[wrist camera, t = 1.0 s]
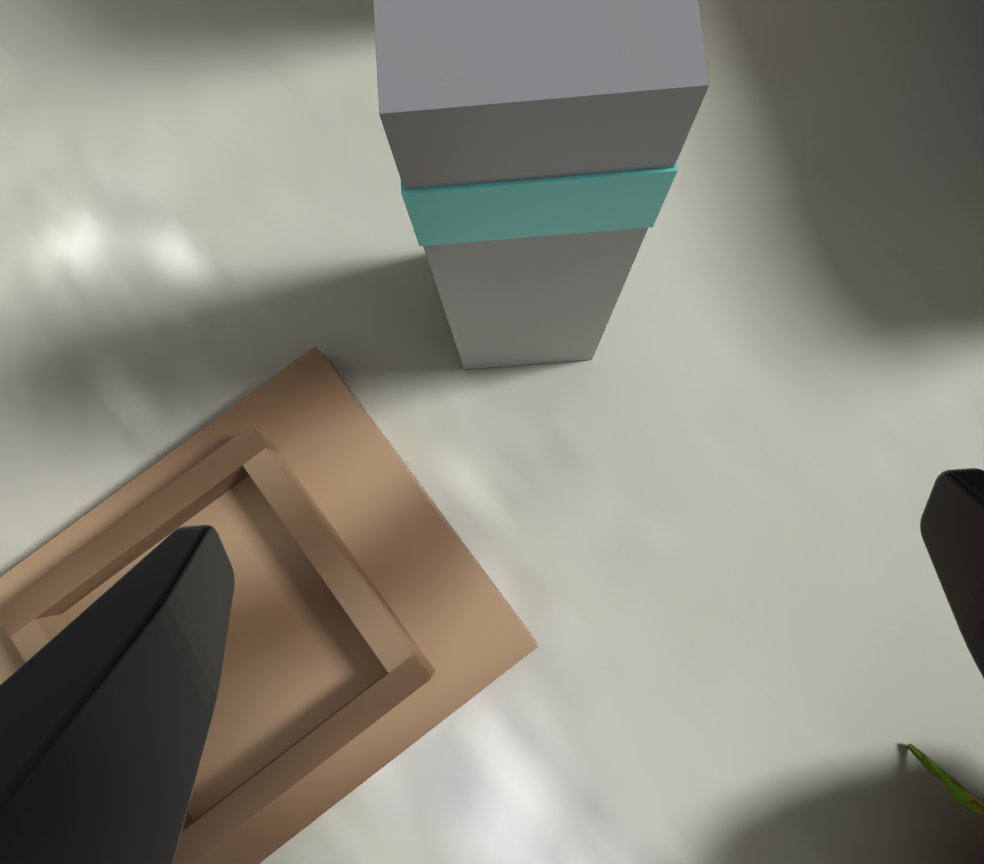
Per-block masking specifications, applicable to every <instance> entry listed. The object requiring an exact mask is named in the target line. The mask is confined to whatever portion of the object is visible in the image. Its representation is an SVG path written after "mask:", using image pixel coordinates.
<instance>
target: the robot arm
mask: <svg viewBox="0 0 984 864" xmlns="http://www.w3.org/2000/svg"><path fill="white" fill-rule="evenodd" d="M920 529H921V535H922V538H923V541H924V544H925V546H926V548H927V551H928V553H929V556H930V558H931V561H932V563H933V566H934V568H935V571H936V573H937V575H938V578H939V580H940V583H941V585H942V588H943V590H944V593H945V595H946V598H947V600H948V603H949V605H950V607H951V610H952V612H953V615H954V617H955V620H956V622H957V625H958V627H959V630H960V632H961V634H962V636H963V638H964V641H965V643H966V645H967V647H968V649H969V651H970V653H971V655H972V657H973V659H974V661H975V663H976V665H977V667H978V669H979V671H980V672H981V674H982V676H983V678H984V471H983V470H981V469H975V468H970V469H956V470H947V471H944V472H942V473H941V474H940V475H939V476H938V477H937V479H936V481H935V483H934V486H933V489H932V491H931V494H930V496H929V499H928V501H927V504H926V507H925V509H924V512H923V514H922V517H921V523H920ZM234 586H235V577H234V571H233V567H232V565H231V562H230V560H229V558H228V555H227V553H226V551H225V548H224V546H223V544H222V541H221V539H220V537H219V534H218V532H217V531H216V529H215V528H214V527H213V526H211V525H195V526H183V527H179V528H178V529H176V530H175V531H173V532H172V533H171V534H170V535H169V536H168V537H166V538H165V539H164V540H163V541H162V542H161V543H160V544H159V545H157V546H156V547H155V548H154V549H153V550H152V551H151V552H149V553H148V554H147V555H146V556H145V557H144V558H143V559H142V560H140V561H139V562H138V563H137V564H136V565H135V566H134V567H133V568H131V569H130V570H129V571H128V572H127V573H126V574H125V575H123V576H122V577H121V578H120V579H119V580H118V581H117V582H116V583H114V584H113V585H112V586H111V587H110V588H109V589H108V590H107V591H105V592H104V593H103V594H102V595H101V596H100V597H99V598H98V599H96V600H95V601H94V602H93V603H92V604H91V605H90V606H88V607H87V608H86V609H85V610H84V611H83V612H82V613H81V614H79V615H78V616H77V617H76V618H75V619H74V620H73V621H72V622H70V623H69V624H68V625H67V626H66V627H65V628H64V629H63V630H61V631H60V632H59V633H58V634H57V635H56V636H55V637H53V638H52V639H51V640H50V641H49V642H48V643H47V644H46V645H44V646H43V647H42V648H41V649H40V650H39V651H38V652H37V653H35V654H34V655H33V656H32V657H31V658H30V659H29V660H28V661H26V662H25V663H24V664H23V665H22V666H21V667H20V668H18V669H17V670H16V671H15V672H14V673H13V674H12V675H11V676H9V677H8V678H7V679H6V680H5V681H4V682H3V683H2V684H0V864H173V861H174V857H175V854H176V850H177V846H178V843H179V839H180V835H181V832H182V828H183V824H184V821H185V817H186V813H187V809H188V806H189V802H190V798H191V795H192V791H193V787H194V784H195V780H196V776H197V772H198V769H199V765H200V761H201V758H202V754H203V750H204V747H205V743H206V739H207V736H208V732H209V728H210V724H211V721H212V717H213V713H214V709H215V705H216V701H217V696H218V691H219V685H220V679H221V673H222V666H223V660H224V653H225V646H226V640H227V633H228V626H229V620H230V613H231V606H232V600H233V593H234Z"/></svg>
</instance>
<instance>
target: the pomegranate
mask: <svg viewBox="0 0 984 864" xmlns="http://www.w3.org/2000/svg"><path fill="white" fill-rule="evenodd" d="M908 749H909V750H910V751H911V752H912V753H913V754H914V755H915V757H916V758H917V759H918V760H919V761H920V762H921V763H922V765H923V766H924V767H925V768H926V769H927V770H928V771H929V772H930V773H932V774H933V775H935V776H936V777H937V778H939V779H940V780H942V781H943V783H944V784H945V786H946V787H947V789H948V790H949V792H950V793H951V795H952V796H953V798H954V799H955V801H956V802H957V804H960V805H962V806H964V807H966V808H968V809H970V810H972V811H975V812H977V813H978V814H979V815H981V816H982V817H983V818H984V804H983V803H982V802H981V801H979V800H978V799H977V798H976V797H974V796H973V795H972V794H971V793H969V792H968V791H967V790H966V789H964V788H963V787H962V786H961V785H960V784H959V783H957V782H956V781H955V780H954V779H953V778H952V777H950V776H949V775H948V774H947V773H946V772H945V771H943V770H942V769H941V768H940V767H939V766H938V765H936V764H935V763H934V762H933V761H932V760H930V759H929V758H928V757H927V756H926V755H925V754H923V753H922V752H921V751H920V750H918V749H917V748H916V747H914V746H913V745H912V744H908Z"/></svg>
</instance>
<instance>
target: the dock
mask: <svg viewBox="0 0 984 864" xmlns="http://www.w3.org/2000/svg"><path fill="white" fill-rule="evenodd" d="M195 525H211V526H213V527H214V528H215V529H216V531H217V532H218V534H219V537H220V539H221V541H222V544H223V546H224V548H225V551H226V553H227V555H228V558H229V560H230V562H231V565H232V567H233V571H234V577H235V586H234V593H233V600H232V606H231V613H230V620H229V626H228V633H227V640H226V646H225V653H224V660H223V666H222V673H221V679H220V685H219V691H218V696H217V701H216V705H215V709H214V713H213V717H212V721H211V724H210V728H209V732H208V736H207V739H206V743H205V747H204V750H203V754H202V758H201V761H200V765H199V769H198V772H197V776H196V780H195V784H194V787H193V791H192V795H191V798H190V802H189V806H188V809H187V813H186V817H185V821H184V824H183V828H182V832H181V835H180V839H179V843H178V846H177V850H176V854H175V857H174V861H173V864H259V863H260V862H262V861H263V860H264V859H265V858H267V857H268V856H269V855H271V854H272V853H273V852H274V851H276V850H277V849H278V848H280V847H281V846H282V845H283V844H285V843H286V842H287V841H289V840H290V839H291V838H292V837H294V836H295V835H296V834H298V833H299V832H300V831H301V830H303V829H304V828H305V827H307V826H308V825H309V824H310V823H312V822H313V821H314V820H316V819H317V818H318V817H319V816H321V815H322V814H323V813H325V812H326V811H327V810H328V809H330V808H331V807H332V806H334V805H335V804H336V803H337V802H339V801H340V800H341V799H343V798H344V797H345V796H346V795H348V794H349V793H350V792H352V791H353V790H354V789H355V788H357V787H358V786H359V785H361V784H362V783H363V782H364V781H366V780H367V779H368V778H370V777H371V776H372V775H373V774H375V773H376V772H377V771H379V770H380V769H381V768H382V767H384V766H385V765H386V764H388V763H389V762H390V761H391V760H393V759H394V758H395V757H397V756H398V755H399V754H400V753H402V752H403V751H404V750H406V749H407V748H408V747H409V746H411V745H412V744H413V743H415V742H416V741H417V740H418V739H420V738H421V737H422V736H424V735H425V734H426V733H427V732H429V731H430V730H431V729H433V728H434V727H435V726H436V725H438V724H439V723H440V722H442V721H443V720H444V719H445V718H447V717H448V716H449V715H451V714H452V713H453V712H454V711H456V710H457V709H458V708H460V707H461V706H462V705H463V704H465V703H466V702H467V701H469V700H470V699H471V698H472V697H474V696H475V695H476V694H478V693H479V692H480V691H481V690H483V689H484V688H485V687H487V686H488V685H489V684H490V683H492V682H493V681H494V680H496V679H497V678H498V677H499V676H501V675H502V674H503V673H505V672H506V671H507V670H508V669H510V668H511V667H512V666H514V665H515V664H516V663H517V662H519V661H520V660H521V659H523V658H524V657H525V656H526V655H528V654H529V653H530V652H532V651H533V650H534V649H535V648H537V642H536V641H535V639H534V638H533V637H532V635H531V634H530V632H529V631H528V630H527V628H526V627H525V626H524V624H523V623H522V622H521V620H520V619H519V618H518V616H517V615H516V614H515V612H514V611H513V609H512V608H511V607H510V605H509V604H508V603H507V601H506V600H505V599H504V597H503V596H502V595H501V593H500V592H499V591H498V589H497V588H496V586H495V585H494V584H493V582H492V581H491V580H490V578H489V577H488V576H487V574H486V573H485V572H484V570H483V569H482V568H481V566H480V565H479V564H478V562H477V561H476V559H475V558H474V557H473V555H472V554H471V553H470V551H469V550H468V549H467V547H466V546H465V545H464V543H463V542H462V541H461V539H460V538H459V536H458V535H457V534H456V532H455V531H454V530H453V528H452V527H451V526H450V524H449V523H448V522H447V520H446V519H445V518H444V516H443V515H442V513H441V512H440V511H439V509H438V508H437V507H436V505H435V504H434V503H433V501H432V500H431V499H430V497H429V496H428V495H427V493H426V492H425V491H424V489H423V488H422V486H421V485H420V484H419V482H418V481H417V480H416V478H415V477H414V476H413V474H412V473H411V472H410V470H409V469H408V468H407V466H406V465H405V463H404V462H403V461H402V459H401V458H400V457H399V455H398V454H397V453H396V451H395V450H394V449H393V447H392V446H391V445H390V443H389V442H388V440H387V439H386V438H385V436H384V435H383V434H382V432H381V431H380V430H379V428H378V427H377V426H376V424H375V423H374V422H373V420H372V419H371V418H370V416H369V415H368V413H367V412H366V411H365V409H364V408H363V407H362V405H361V404H360V403H359V401H358V400H357V399H356V397H355V396H354V395H353V393H352V392H351V390H350V389H349V388H348V386H347V385H346V384H345V382H344V381H343V380H342V378H341V377H340V376H339V374H338V373H337V372H336V370H335V369H334V367H333V366H332V365H331V363H330V362H329V361H328V359H327V358H326V357H325V355H324V354H323V353H322V352H321V351H320V350H318V349H317V348H316V347H314V348H312V349H311V350H310V351H308V352H307V353H305V354H304V355H303V356H301V357H300V358H299V359H297V360H296V361H295V362H293V363H292V364H290V365H289V366H288V367H286V368H285V369H284V370H282V371H281V372H280V373H278V374H277V375H275V376H274V377H273V378H271V379H270V380H269V381H267V382H266V383H265V384H263V385H262V386H260V387H259V388H258V389H256V390H255V391H254V392H252V393H251V394H250V395H248V396H247V397H245V398H244V399H243V400H241V401H240V402H239V403H237V404H236V405H235V406H233V407H232V408H230V409H229V410H228V411H226V412H225V413H224V414H222V415H221V416H220V417H218V418H217V419H215V420H214V421H213V422H211V423H210V424H209V425H207V426H206V427H205V428H203V429H202V430H200V431H199V432H198V433H196V434H195V435H194V436H192V437H191V438H190V439H188V440H187V441H185V442H184V443H183V444H181V445H180V446H179V447H177V448H176V449H175V450H173V451H172V452H170V453H169V454H168V455H166V456H165V457H164V458H162V459H161V460H160V461H158V462H157V463H155V464H154V465H153V466H151V467H150V468H149V469H147V470H146V471H145V472H143V473H142V474H140V475H139V476H138V477H136V478H135V479H134V480H132V481H131V482H130V483H128V484H127V485H125V486H124V487H123V488H121V489H120V490H119V491H117V492H116V493H115V494H113V495H112V496H110V497H109V498H108V499H106V500H105V501H104V502H102V503H101V504H100V505H98V506H97V507H95V508H94V509H93V510H91V511H90V512H89V513H87V514H86V515H85V516H83V517H82V518H80V519H79V520H78V521H76V522H75V523H74V524H72V525H71V526H69V527H68V528H67V529H65V530H64V531H63V532H61V533H60V534H59V535H57V536H56V537H54V538H53V539H52V540H50V541H49V542H48V543H46V544H45V545H44V546H42V547H41V548H39V549H38V550H37V551H35V552H34V553H33V554H31V555H30V556H29V557H27V558H26V559H24V560H23V561H22V562H20V563H19V564H18V565H16V566H15V567H14V568H12V569H11V570H9V571H8V572H7V573H5V574H4V575H3V576H1V577H0V684H2V683H3V682H4V681H5V680H6V679H7V678H8V677H9V676H11V675H12V674H13V673H14V672H15V671H16V670H17V669H18V668H20V667H21V666H22V665H23V664H24V663H25V662H26V661H28V660H29V659H30V658H31V657H32V656H33V655H34V654H35V653H37V652H38V651H39V650H40V649H41V648H42V647H43V646H44V645H46V644H47V643H48V642H49V641H50V640H51V639H52V638H53V637H55V636H56V635H57V634H58V633H59V632H60V631H61V630H63V629H64V628H65V627H66V626H67V625H68V624H69V623H70V622H72V621H73V620H74V619H75V618H76V617H77V616H78V615H79V614H81V613H82V612H83V611H84V610H85V609H86V608H87V607H88V606H90V605H91V604H92V603H93V602H94V601H95V600H96V599H98V598H99V597H100V596H101V595H102V594H103V593H104V592H105V591H107V590H108V589H109V588H110V587H111V586H112V585H113V584H114V583H116V582H117V581H118V580H119V579H120V578H121V577H122V576H123V575H125V574H126V573H127V572H128V571H129V570H130V569H131V568H133V567H134V566H135V565H136V564H137V563H138V562H139V561H140V560H142V559H143V558H144V557H145V556H146V555H147V554H148V553H149V552H151V551H152V550H153V549H154V548H155V547H156V546H157V545H159V544H160V543H161V542H162V541H163V540H164V539H165V538H166V537H168V536H169V535H170V534H171V533H172V532H173V531H175V530H176V529H178V528H179V527H183V526H195Z"/></svg>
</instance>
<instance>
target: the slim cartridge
mask: <svg viewBox="0 0 984 864" xmlns="http://www.w3.org/2000/svg"><path fill="white" fill-rule="evenodd" d="M373 4H374V23H375V42H376V61H377V80H378V98H379V114H380V117H381V120H382V123H383V126H384V129H385V132H386V135H387V138H388V141H389V145H390V148H391V151H392V154H393V157H394V160H395V163H396V166H397V169H398V172H399V175H400V178H401V192H402V197H403V199H404V202H405V205H406V208H407V211H408V214H409V217H410V220H411V223H412V226H413V228H414V231H415V234H416V237H417V240H418V243H419V246H423V247H424V250H425V253H426V256H427V259H428V262H429V265H430V268H431V271H432V274H433V277H434V280H435V283H436V286H437V289H438V292H439V295H440V298H441V301H442V304H443V307H444V310H445V313H446V316H447V319H448V322H449V325H450V328H451V331H452V334H453V337H454V340H455V343H456V346H457V349H458V352H459V356H460V359H461V362H462V365H463V368H464V369H477V368H490V367H502V366H515V365H528V364H541V363H554V362H567V361H580V360H592V358H593V356H594V353H595V351H596V349H597V346H598V344H599V342H600V339H601V337H602V335H603V332H604V330H605V328H606V325H607V323H608V321H609V318H610V316H611V314H612V311H613V309H614V307H615V304H616V302H617V300H618V297H619V295H620V292H621V290H622V288H623V285H624V283H625V281H626V278H627V276H628V274H629V271H630V269H631V267H632V264H633V262H634V260H635V257H636V255H637V253H638V250H639V248H640V246H641V243H642V241H643V239H644V236H645V234H646V232H647V229H648V227H653V225H654V223H655V220H656V218H657V216H658V214H659V211H660V209H661V207H662V205H663V202H664V200H665V198H666V195H667V193H668V191H669V189H670V186H671V184H672V182H673V180H674V177H675V175H676V173H677V163H676V161H677V159H678V156H679V154H680V152H681V149H682V147H683V145H684V142H685V140H686V138H687V135H688V133H689V131H690V128H691V126H692V124H693V121H694V119H695V117H696V114H697V112H698V110H699V107H700V105H701V103H702V100H703V98H704V95H705V93H706V91H707V88H708V86H709V82H708V74H707V65H706V57H705V49H704V41H703V33H702V25H701V16H700V8H699V0H373Z"/></svg>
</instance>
